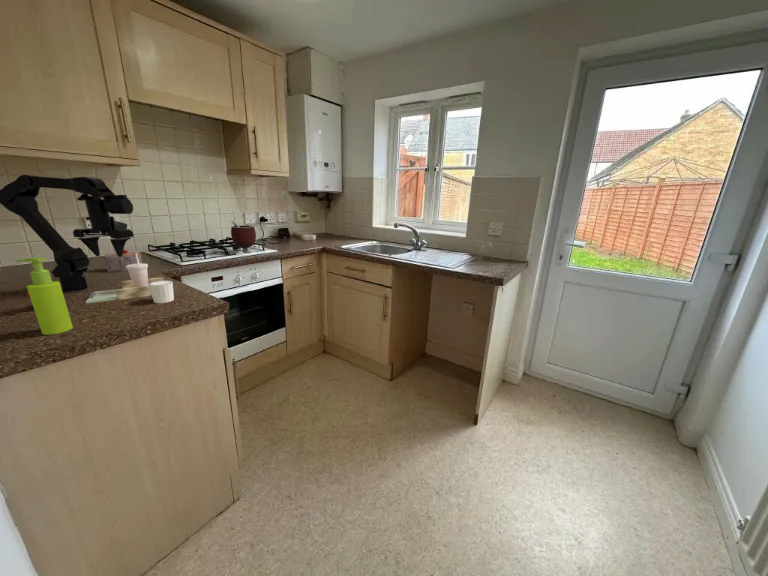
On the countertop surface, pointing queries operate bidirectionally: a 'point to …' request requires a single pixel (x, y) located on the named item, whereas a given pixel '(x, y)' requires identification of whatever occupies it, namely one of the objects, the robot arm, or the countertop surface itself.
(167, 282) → the white ramekin
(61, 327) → the soap dispenser
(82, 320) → the countertop surface
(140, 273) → the smoothie
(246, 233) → the mate gourd
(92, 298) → the pale green flat block
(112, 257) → the food item
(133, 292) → the wooden serving board
